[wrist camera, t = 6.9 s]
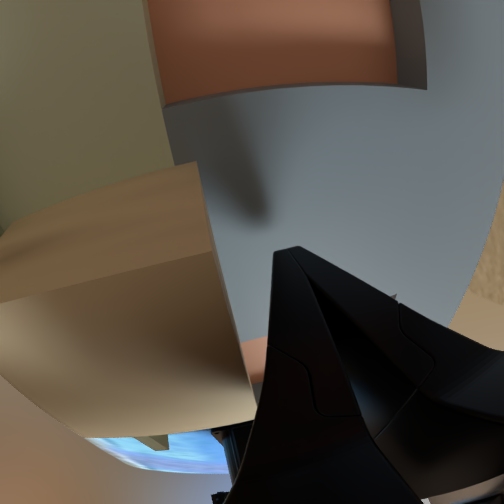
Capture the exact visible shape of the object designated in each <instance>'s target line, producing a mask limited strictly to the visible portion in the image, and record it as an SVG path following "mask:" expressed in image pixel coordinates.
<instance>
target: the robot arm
mask: <svg viewBox="0 0 504 504" xmlns="http://www.w3.org/2000/svg"><path fill="white" fill-rule="evenodd" d="M211 434H212V435H213V436H214V437H215V438H216V439H217V440H218V441H219V442H220V443H221V444H222V446H223V447H224V451H225V456H226V460H227V465H228V469H229V474H230V477H231V482H232V488H231V490H230V492H217V494H213V495H211V497H212V501H213V504H423V502H422V501H421V499H425V498H428V499H429V501H430V503H431V504H504V351H499V350H495V349H492V348H489V347H486V346H484V345H482V344H480V343H478V342H476V341H474V340H471V339H469V338H467V337H465V336H463V335H461V334H459V333H457V332H455V331H453V330H451V329H449V328H447V327H445V326H443V325H441V324H439V323H437V322H435V321H433V320H431V319H429V318H427V317H425V316H423V315H422V314H420V313H418V312H416V311H415V310H413V309H411V308H409V307H408V306H406V305H404V304H402V303H398V301H397V300H395V299H394V298H392V297H390V296H389V295H387V294H385V293H383V292H382V291H380V290H378V289H376V288H375V287H373V286H371V285H369V284H368V283H366V282H364V281H362V280H361V279H359V278H357V277H355V276H354V275H352V274H350V273H348V272H347V271H345V270H343V269H341V268H339V267H338V266H336V265H334V264H332V263H330V262H329V261H327V260H325V259H323V258H321V257H320V256H318V255H316V254H314V253H312V252H311V251H309V250H307V249H305V248H303V247H301V246H294V247H290V248H286V249H281V250H277V251H274V252H273V258H272V275H271V291H270V307H269V322H268V337H267V348H266V361H265V369H264V378H263V384H262V388H261V393H260V398H259V402H258V406H257V410H256V414H255V418H254V420H250V421H245V422H241V423H236V424H232V425H227V426H221V427H216V428H212V429H211Z"/></svg>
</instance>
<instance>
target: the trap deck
mask: <svg viewBox="0 0 504 504" xmlns="http://www.w3.org/2000/svg"><path fill="white" fill-rule="evenodd" d="M194 161H197V166H198V170H199V175H200V179H201V184H202V188H203V193H204V197H205V202H206V206H207V210H208V215H209V219H210V223H211V228H212V232H213V236H214V240H215V244H216V248H217V252H218V257H219V261H220V265H221V269H222V273H223V277H224V281H225V284H226V288H227V292H228V296H229V300H230V304H231V308H232V311H233V315H234V319H235V323H236V327H237V331H238V335H239V339H240V343H241V347H242V351H243V355H244V359H245V362H246V366H247V370H248V374H249V378H250V382H251V385H252V389H253V393H254V396H255V400H256V404H257V406H258V402H259V398H260V393H261V388H262V384H263V378H264V369H265V361H266V348H267V337H268V322H269V307H270V291H271V275H272V258H273V252H274V251H277V250H281V249H286V248H290V247H294V246H301V247H303V248H305V249H307V250H309V251H311V252H312V253H314V254H316V255H318V256H320V257H321V258H323V259H325V260H327V261H329V262H330V263H332V264H334V265H336V266H338V267H339V268H341V269H343V270H345V271H347V272H348V273H350V274H352V275H354V276H355V277H357V278H359V279H361V280H362V281H364V282H366V283H368V284H369V285H371V286H373V287H375V288H376V289H378V290H380V291H382V292H383V293H385V294H387V295H389V296H390V297H392V298H394V299H395V300H397V301H398V303H402V304H404V305H406V306H408V307H409V308H411V309H413V310H415V311H416V312H418V313H420V314H422V315H423V316H425V317H427V318H429V319H431V320H433V321H435V322H437V323H439V324H441V325H443V326H445V327H447V328H448V326H449V324H450V322H451V320H452V318H453V317H454V315H455V312H456V311H457V308H458V307H459V305H460V303H461V300H462V298H463V296H464V294H465V292H466V290H467V288H468V286H469V283H470V281H471V279H472V276H473V274H474V272H475V269H476V267H477V264H478V262H479V259H480V257H481V254H482V251H483V249H484V246H485V243H486V240H487V237H488V234H489V231H490V228H491V225H492V222H493V218H494V215H495V211H496V208H497V204H498V200H499V196H500V192H501V188H502V184H503V179H504V0H0V237H1V236H2V235H3V233H4V232H5V231H6V230H7V228H8V227H9V226H10V225H11V224H12V222H14V221H17V220H19V219H21V218H23V217H26V216H28V215H30V214H33V213H35V212H37V211H40V210H42V209H45V208H47V207H50V206H52V205H55V204H57V203H60V202H62V201H65V200H68V199H70V198H73V197H76V196H79V195H81V194H84V193H87V192H90V191H93V190H96V189H99V188H102V187H105V186H108V185H111V184H114V183H117V182H120V181H124V180H127V179H130V178H134V177H137V176H140V175H144V174H147V173H151V172H155V171H158V170H162V169H166V168H170V167H174V166H177V165H182V164H186V163H190V162H194ZM134 438H135V439H137V440H138V441H140V442H141V443H143V444H145V445H146V446H148V447H150V448H151V449H153V450H155V451H161V450H169V443H168V434H165V435H154V436H141V437H134Z"/></svg>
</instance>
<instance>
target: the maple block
mask: <svg viewBox="0 0 504 504" xmlns="http://www.w3.org/2000/svg"><path fill="white" fill-rule="evenodd" d="M0 375H1V376H2V377H3V378H4V379H6V380H7V381H8V382H9V383H10V384H11V385H12V386H13V387H14V388H16V389H17V390H18V391H19V392H20V393H21V394H23V395H24V396H25V397H26V398H28V399H29V400H30V401H31V402H33V403H34V404H35V405H37V406H38V407H39V408H40V409H42V410H43V411H45V412H46V413H47V414H49V415H50V416H51V417H53V418H54V419H56V420H57V421H59V422H60V423H62V424H63V425H65V426H66V427H68V428H69V429H71V430H72V431H74V432H75V433H77V434H79V435H80V436H82V437H86V438H119V437H141V436H154V435H165V434H174V433H182V432H190V431H197V430H203V429H209V428H215V427H220V426H226V425H231V424H235V423H240V422H245V421H249V420H253V419H254V418H255V414H256V410H257V404H256V400H255V396H254V393H253V389H252V385H251V382H250V378H249V374H248V370H247V366H246V362H245V359H244V355H243V351H242V347H241V343H240V339H239V335H238V331H237V327H236V323H235V319H234V315H233V311H232V308H231V304H230V300H229V296H228V292H227V288H226V284H225V281H224V277H223V273H222V269H221V265H220V261H219V257H218V252H217V248H216V244H215V240H214V236H213V232H212V228H211V223H210V219H209V215H208V210H207V206H206V202H205V197H204V193H203V188H202V184H201V179H200V175H199V170H198V166H197V161H194V162H190V163H186V164H182V165H177V166H174V167H170V168H166V169H162V170H158V171H155V172H151V173H147V174H144V175H140V176H137V177H134V178H130V179H127V180H124V181H120V182H117V183H114V184H111V185H108V186H105V187H102V188H99V189H96V190H93V191H90V192H87V193H84V194H81V195H79V196H76V197H73V198H70V199H68V200H65V201H62V202H60V203H57V204H55V205H52V206H50V207H47V208H45V209H42V210H40V211H37V212H35V213H33V214H30V215H28V216H26V217H23V218H21V219H19V220H17V221H14V222H12V224H11V225H10V226H9V227H8V228H7V230H6V231H5V232H4V233H3V235H2V236H1V237H0Z"/></svg>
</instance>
